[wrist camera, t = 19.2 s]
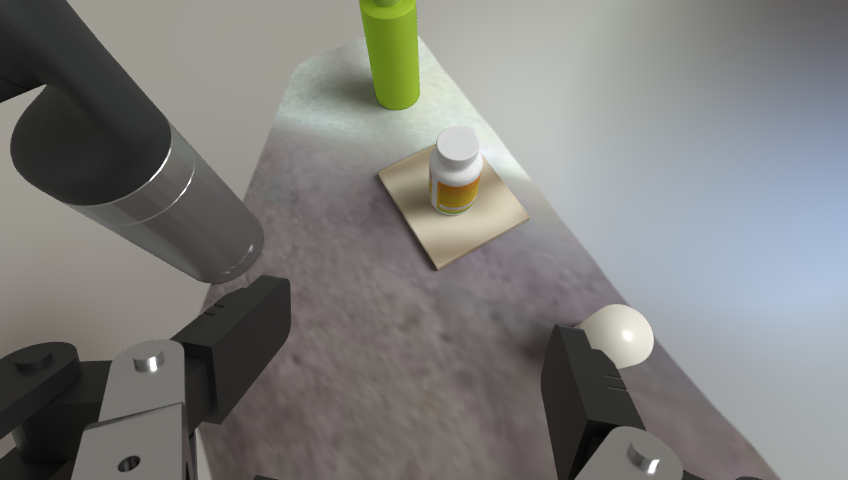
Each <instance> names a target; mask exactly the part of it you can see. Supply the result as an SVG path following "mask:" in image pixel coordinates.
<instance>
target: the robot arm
mask: <svg viewBox="0 0 848 480" xmlns="http://www.w3.org/2000/svg"><path fill="white" fill-rule="evenodd" d="M44 84H46V85H47V86H46V87H45V88H44V89H43V91H42V92H41V93H40V94H39V95H38V96H37V97H36V99H35V100H34V101H33V102H32V103H31V104H30V105H29V106H28V108H27V109H26V110H25V111H24V113H23V114H22V116H21V117H20V119H19V120H18V122H17V124H16V126H15V129H14V131H13V134H12V138H11V144H10V152H11V157H12V161H13V164H14V166H15V168H16V169H17V171H18V172H19V173H20V174H21V175H22V176H23V178H24V179H26V180H27V181H28V182H29V183H31V184H32V185H34V186H35V187H37V188H38V189H40V190H41V191H43V192H45V193H47V194H48V195H50V196H52V197H54V198H55V199H57V200H59V201H60V202H62V203H64V204H66V205H67V206H69V207H71V208H73V209H74V210H76V211H78V212H80V213H81V214H83V215H85V216H86V217H88V218H90V219H92V220H94V221H96V222H97V223H99V224H101V225H103V226H104V227H106V228H108V229H109V230H111V231H113V232H115V233H117V234H118V235H120V236H122V237H123V238H125V239H127V240H129V241H130V242H132V243H134V244H135V245H137V246H139V247H141V248H142V249H144V250H146V251H148V252H150V253H151V254H153V255H155V256H156V257H158V258H160V259H162V260H163V261H165V262H167V263H169V264H170V265H172V266H173V267H175V268H177V269H179V270H180V271H182V272H184V273H186V274H188V275H189V276H191V277H193V278H195V279H196V280H198V281H202V282H205V283H221V282H226V281H229V280H232V279H234V278H236V277H238V276H239V275H241V274H243V273H244V272H245V271H246V270H248V269H249V268H250V267H251V265H252V264H253V263H254V262H255V261H256V259H257V257H258V256H259V254H260V251H261V249H262V245H263V230H262V227H261V225H260V223H259V221H258V220H257V219H256V217H255V216H254V215H253V214H252V213H251V212H250V211H249V209H248V208H247V207H246V206H245V205H244V204H243V203H242V201H241V200H240V199H239V198H238V197H237V196H236V195H235V194H234V193H233V192H232V191H231V189H230V188H229V187H228V186H227V185H226V184H225V183H224V181H223V180H222V179H221V178H220V177H219V176H218V175H217V174H216V173H215V171H214V170H213V169H212V168H211V167H210V166H209V165H208V164H207V163H206V161H205V160H204V159H203V158H202V157H201V156H200V155H199V154H198V153H197V151H196V150H195V149H194V148H193V147H192V146H191V145H190V144H189V143H188V142H187V140H186V139H185V138H184V137H183V136H182V135H181V134H180V133H179V132H178V131H177V130H176V128H175V127H174V126H173V125H172V124H171V123H170V122H169V121H168V119H167V118H166V117H165V116H164V115H163V114H162V112H161V111H160V110H159V109H158V108H157V107H156V106H155V105H154V104H153V102H152V101H151V100H150V99H149V98H148V97H147V96H146V95H145V93H144V92H143V91H142V90H141V89H140V88H139V86H138V85H137V84H136V83H135V82H134V81H133V79H132V78H131V77H130V76H129V75H128V74H127V72H126V71H125V70H124V69H123V68H122V67H121V66H120V65H119V63H118V62H117V61H116V60H115V59H114V58H113V57H112V55H111V54H110V53H109V52H108V51H107V50H106V49H105V48H104V46H103V45H102V44H101V43H100V42H99V40H98V39H97V38H96V37H95V35H94V34H93V33H92V32H91V31H90V29H89V28H88V27H87V26H86V24H85V23H84V22H83V21H82V20H81V18H80V17H79V16H78V15H77V14H76V12H75V11H74V10H73V8H72V7H71V6H70V5H69V3H68V2H67V1H66V0H0V103H1V102H3V101H6V100H8V99H11V98H13V97H15V96H18V95H20V94H22V93H25V92H27V91H30V90H32V89H34V88H37V87H39V86H42V85H44ZM290 327H291V298H290V282H289V280H288V279H285V278H279V277H274V276H268V275H262V276H260V277H259V278H258V279H256V280H255V281H254V282H253V283H252V284H250V285H249V286H248V287H247V288H240V289H238V290H236V291H233V292H231V293H229V294H226V295H225V296H223V297H222V298H221V299H220V300H218V301H217V302H216V303H215V304H214V306H211V307H210V308H208V309H207V310H206V311H205V312H204V314H201V315H200V316H198V317H197V318H196V319H195V320H193V321H192V322H191V323H190V324H188V325H187V326H186V327H185V328H183V329H182V330H181V331H180V332H178V333H177V334H176V335H175V336H173V337H172V338H171V339H170V340H163V339H162V340H152V341H146V342H143V343H140V344H137V345H134V346H132V347H130V348H127V349H126V350H124V351H122V352H121V353H120V354H119V355H117V356H116V358H114V360H112V361H111V360H110V361H86V362H80V361H79V357H78V353H77V349H76V348H75V347H74V346H73V345H72V344H69V343H64V342H48V343H42V344H37V345H32V346H29V347H26V348H23V349H20V350H18V351H15V352H13V353H11V354H9V355H7V356H5V357H4V358H2V359H0V439H2V438H3V437H4V436H6V435H7V434H8V433H9V432H11V433H12V435H13V438H14V441H15V443H16V447H15V448H13V449H12V450H11V451H10V452H9V453H7V454H6V455H5V456H4V457H2V458H1V459H0V480H198V476H197V451H196V434H195V429H196V428H197V427H198V425H199V424H200V423H201V422H202V421H205V422H209V423H214V424H219V425H220V424H221V423H222V422H223V421H224V419H225V418H226V417H227V415H228V414H229V413H230V412H231V410H232V409H233V408H234V407H235V405H236V404H237V403H238V401H239V400H240V399H241V398H242V396H243V395H244V394H245V393H246V391H247V390H248V389H249V387H250V386H251V385H252V384H253V382H254V381H255V380H256V379H257V377H258V376H259V375H260V373H261V372H262V371H263V370H264V368H265V367H266V366H267V365H268V363H269V362H270V361H271V359H272V358H273V357H274V356H275V354H276V353H277V352H278V351H279V349H280V348H281V347H282V345H283V344H284V343H285V341H286V339H287V337H288V335H289V331H290ZM541 392H542V397H543V402H544V408H545V413H546V418H547V423H548V429H549V434H550V439H551V445H552V450H553V455H554V460H555V466H556V471H557V476H558V480H704V479H702V478H700V477H697V476H695V475H693V474H691V473H689V472H687V471H685V470H683V468H682V465H681V462H680V460H679V459H678V457H677V456H676V454H675V453H674V452H673V451H672V449H671V448H670V447H669V446H668V445H666V444H665V443H664V442H663V441H662V440H660V439H659V438H657V437H656V436H654V435H652V434H650V433H648V432H647V431H646V429H645V427H644V425H643V422H642V420H641V418H640V416H639V414H638V412H637V410H636V408H635V406H634V403H633V401H632V399H631V397H630V395H629V393H628V392H626V387H625V384H624V382H623V380H621V376H620V374H619V372H618V370H617V368H616V365H615V363H614V362H613V361H612V360H611V359H610V358H609V357H608V356H607V355H606V354H605V353H604V352H603V351H602V350H598V349H592V348H591V345H590V343H589V341H588V338H587V336H586V333H585V331H584V330H583V329H579V328H573V327H567V326H561V325H555V327H554V329H553V332H552V335H551V339H550V342H549V346H548V350H547V354H546V357H545V361H544V365H543V369H542V375H541ZM253 480H277V479H273V478H268V477H263V476H259V475H256V476H255V478H254V479H253ZM736 480H762V479H758V478H754V477H739V478H737V479H736Z"/></svg>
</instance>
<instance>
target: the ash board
mask: <svg viewBox="0 0 848 480" xmlns="http://www.w3.org/2000/svg"><path fill="white" fill-rule="evenodd" d="M435 146H436V144H434V145H432V146H430V147H428V148H426V149H424V150H422V151H420V152H418V153H416V154H414V155H412V156H410V157H408V158H406V159H404V160H402V161H399V162H397V163H395V164H393V165H391V166H389V167H387V168H385V169H383V170H381V171H379V172H377V173H378V176H379V178H380V180H381V181H382V183H383V184H384V186H385V188H386V189H387V191H388V192H389V194H390V196H391V197H392V199H393V200H394V202H395V204H396V205H397V207H398V208H399V210H400V212H401V213H402V215H403V216H404V218H405V220H406V221H407V223H408V224H409V226H410V228H411V229H412V231H413V232H414V234H415V236H416V237H417V239H418V240H419V242H420V244H421V245H422V247H423V248H424V250H425V251H426V253H427V255H428V256H429V258H430V259H431V261H432V263H433V264H434V266H435V267H436V269H437V271H438V270H440V269H442V268H444V267H445V266H447V265H449V264H451V263H453V262H454V261H456V260H458V259H460V258H462V257H463V256H465V255H467V254H469V253H471V252H472V251H474V250H476V249H478V248H480V247H481V246H483V245H485V244H487V243H489V242H490V241H492V240H494V239H496V238H498V237H499V236H501V235H503V234H505V233H507V232H508V231H510V230H512V229H514V228H516V227H517V226H519V225H521V224H523V223H525V222H526V221H528V220H529V219H530V216H529V215H528V213H527V212H526V211H525V209H524V208H523V207H522V206H521V204H520V203H519V202H518V200H517V199H516V198H515V197H514V195H513V194H512V193H511V191H510V190H509V189H508V188H507V186H506V185H505V184H504V182H503V181H502V180H501V179H500V177H499V176H498V175H497V173H496V172H495V171H494V169H493V168H492V167H491V166H490V164H489V163H488V162H487V160H486V159H485V158H484V157H483V155H482V158H483V167H482V172H481V177H480V182H479V186H478V191H477V196H476V200H475V203H474V204H473V206H472V207H471V208H470V209H469V210H468V211H467V212H465V213H463V214H460V215H447V214H444V213H441V212H439V211H438V210H437V209H436V208H435V207H434V206H433V205H432V203H431V201H430V197H429V158H430V154H431V152H432V150H433V149H434V147H435Z"/></svg>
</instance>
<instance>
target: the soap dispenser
mask: <svg viewBox="0 0 848 480" xmlns="http://www.w3.org/2000/svg"><path fill="white" fill-rule="evenodd" d="M359 4H360V9H361V15H362V20H363V26H364V32H365V37H366V43H367V49H368V54H369V60H370V65H371V71H372V76H373V82H374V87H375V93H376V98H377V100H378V102H379V103H380V104H381V105H382V106H384V107H386V108H388V109H392V110H402V109H406V108H408V107H410V106H412V105H413V104H414V103H415V102H416V101H417V100H418V98H419V95H420V84H419V61H418V38H417V15H416V0H359Z"/></svg>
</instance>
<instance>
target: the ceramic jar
mask: <svg viewBox="0 0 848 480" xmlns="http://www.w3.org/2000/svg"><path fill="white" fill-rule="evenodd" d="M573 328H579V329H583V330H584V331H585V333H586V336H587V338H588V341H589V343H590V345H591V348H592V349H598V350H602V351H603V352H604V353H605V354H606V355H607V356H608V357H609V358H610V359H611V360H612V361H613V362H614V363H615V365H616V368H617V369H620V368H624V367H628V366H632V365H636V364H639V363H641V362H643V361H644V360H645V359H646V358H647V357H648V356H649V355H650V353H651V351H652V348H653V342H654V339H653V333H652V330H651V327H650V325H649V324H648V322H647V321H646V319H645V318H644V317H643V316H642V315H641V314H640V313H639V312H637V311H636V310H634V309H633V308H630V307H628V306H625V305H619V304H614V305H609V306H606V307H604V308H602V309H600V310H599V311H597V312H596V313H594V314H593V315H591V316H590V317H588V318H587V319H585V320H583V321H582V322H580V323H579V324H577V325H576V326H574V327H573Z"/></svg>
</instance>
